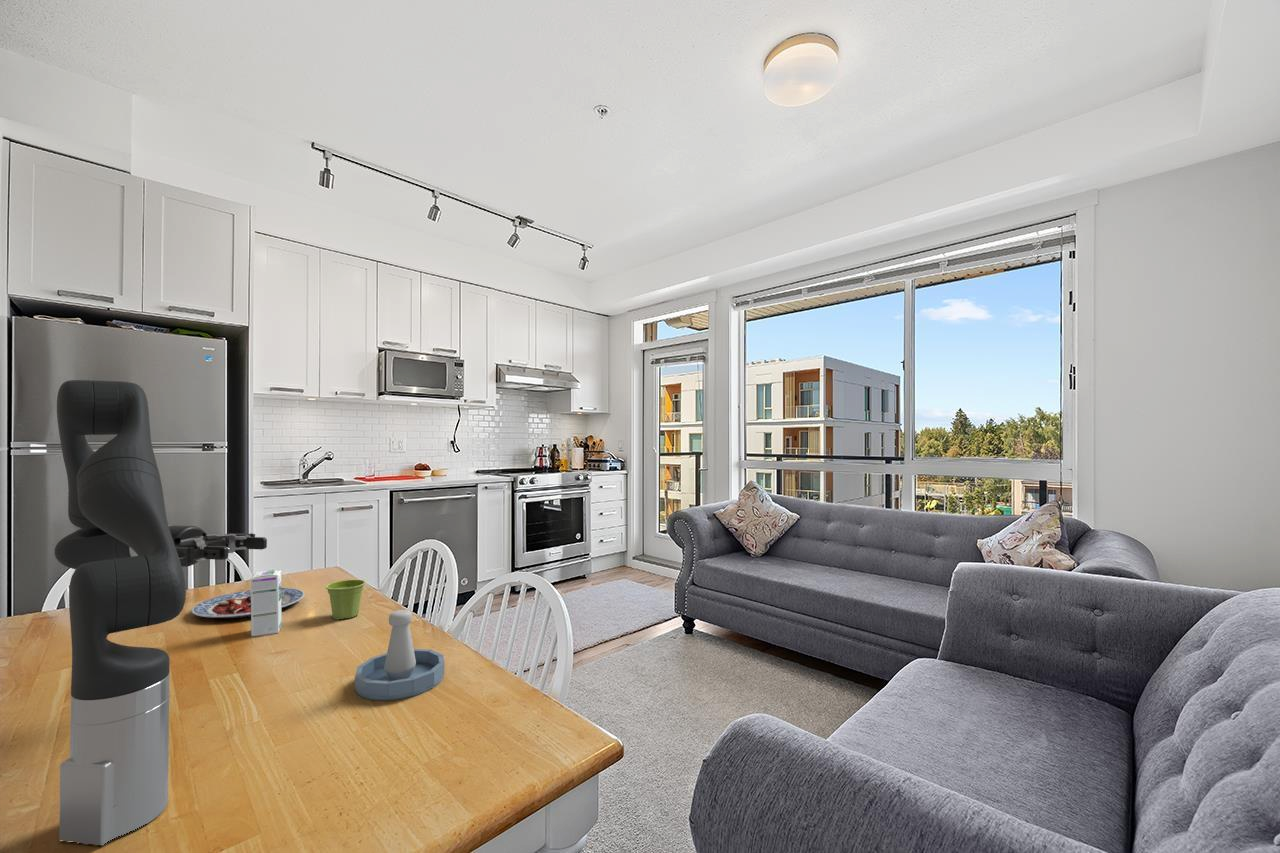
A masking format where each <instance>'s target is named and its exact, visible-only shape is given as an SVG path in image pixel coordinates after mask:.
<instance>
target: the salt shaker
mask: <svg viewBox="0 0 1280 853" xmlns="http://www.w3.org/2000/svg"><path fill="white" fill-rule="evenodd" d="M412 620H413V613H412V612H411V611H410V610H409V609H398V610H395V611H393V612H391V613H389V616H388V624H389V626H391V631H390V637H389V641H388V642H389V643H388V646H387V652H386V653H387V656H386V660H385V665H384V670H385V672H386V674H387V675H388V678H389V680H390V681H394V680H401V679H407V678H409V677H410V676H411V675H412V673H413V670H414V668H415V665H416V659H415V654H414V649H415V648H414V643H413V638H412V632H411V627H410V624H411V623H412Z"/></svg>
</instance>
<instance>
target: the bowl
mask: <svg viewBox="0 0 1280 853" xmlns="http://www.w3.org/2000/svg"><path fill="white" fill-rule="evenodd" d="M414 654H415V659H416V665H415V668H414V670H413V673H412V675H411V676H410V677H409V678H407V679H401V680H394V681H390V680H389V678H388V675H387V674H386V672H385V670H384V665H385V660H386V656H387V652H386V653H385V652H384V653H382V654H379V655H376V656H372V657H370V658H368V659H367V660H365V661H364V662H362V663H361V664H360V665H358V666H357V667H356V670H355V676H354V690H355V692H356V694H357V695H358V696H360V697H361V698H363V699H366V700H371V701H381V702H383V701H386V702H387V701H397V700H403V699H408V698H412V697H414V696H415V697H416V696H418V695H420V694H424V693H425V692H428V691H430V690H432V689H434V688H435V687H437V686H438V685H439V684H441V682H442V681H443V679H444V677H443V676H445V658H444V654H443V653H440V652H438V651H436V650H433V649H430V648H429V649H426V648H414ZM441 680H442V681H441ZM436 685H437V686H436ZM433 687H434V688H433ZM431 688H432V689H431Z"/></svg>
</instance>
